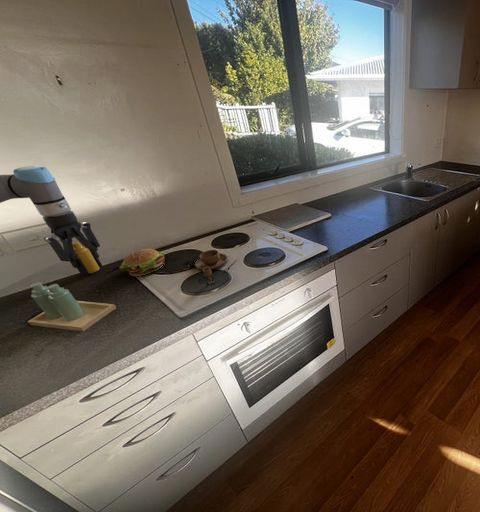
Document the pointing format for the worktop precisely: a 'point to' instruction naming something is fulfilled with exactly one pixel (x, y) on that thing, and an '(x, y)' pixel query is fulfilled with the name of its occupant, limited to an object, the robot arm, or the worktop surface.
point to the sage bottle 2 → (64, 303)
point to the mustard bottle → (85, 257)
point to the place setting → (211, 262)
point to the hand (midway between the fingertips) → (91, 269)
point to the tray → (91, 316)
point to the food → (142, 262)
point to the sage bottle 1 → (44, 300)
